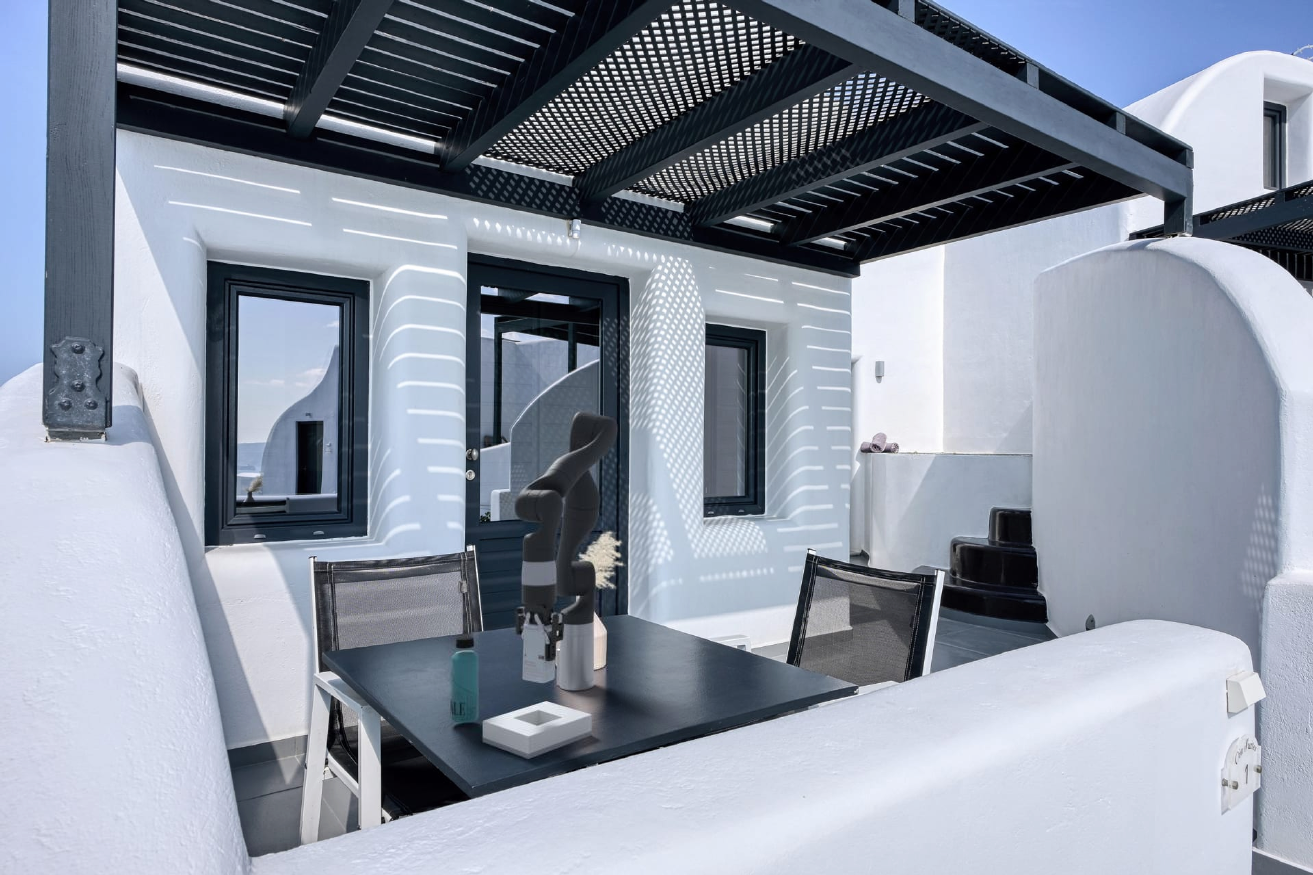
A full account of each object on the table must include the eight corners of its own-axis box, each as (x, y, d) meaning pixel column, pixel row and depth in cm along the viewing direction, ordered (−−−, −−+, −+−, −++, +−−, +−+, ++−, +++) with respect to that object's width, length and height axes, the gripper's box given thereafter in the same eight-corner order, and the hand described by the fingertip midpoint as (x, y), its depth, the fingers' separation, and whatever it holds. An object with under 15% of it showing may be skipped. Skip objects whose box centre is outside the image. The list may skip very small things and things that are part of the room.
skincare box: (521, 680, 171) (521, 624, 172) (534, 675, 175) (534, 620, 175) (544, 684, 168) (544, 626, 168) (556, 679, 172) (556, 623, 172)
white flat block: (482, 741, 169) (482, 720, 169) (546, 720, 183) (546, 701, 183) (528, 759, 159) (528, 736, 160) (591, 735, 173) (591, 714, 173)
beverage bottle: (481, 720, 184) (482, 633, 184) (476, 729, 177) (476, 640, 177) (453, 720, 183) (454, 634, 184) (447, 730, 177) (447, 640, 177)
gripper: (574, 582, 170) (574, 660, 170) (530, 576, 180) (530, 650, 179) (548, 586, 165) (548, 667, 164) (504, 580, 174) (504, 656, 174)
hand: (539, 657), depth 172 cm, fingers closed on skincare box, 6 cm apart
